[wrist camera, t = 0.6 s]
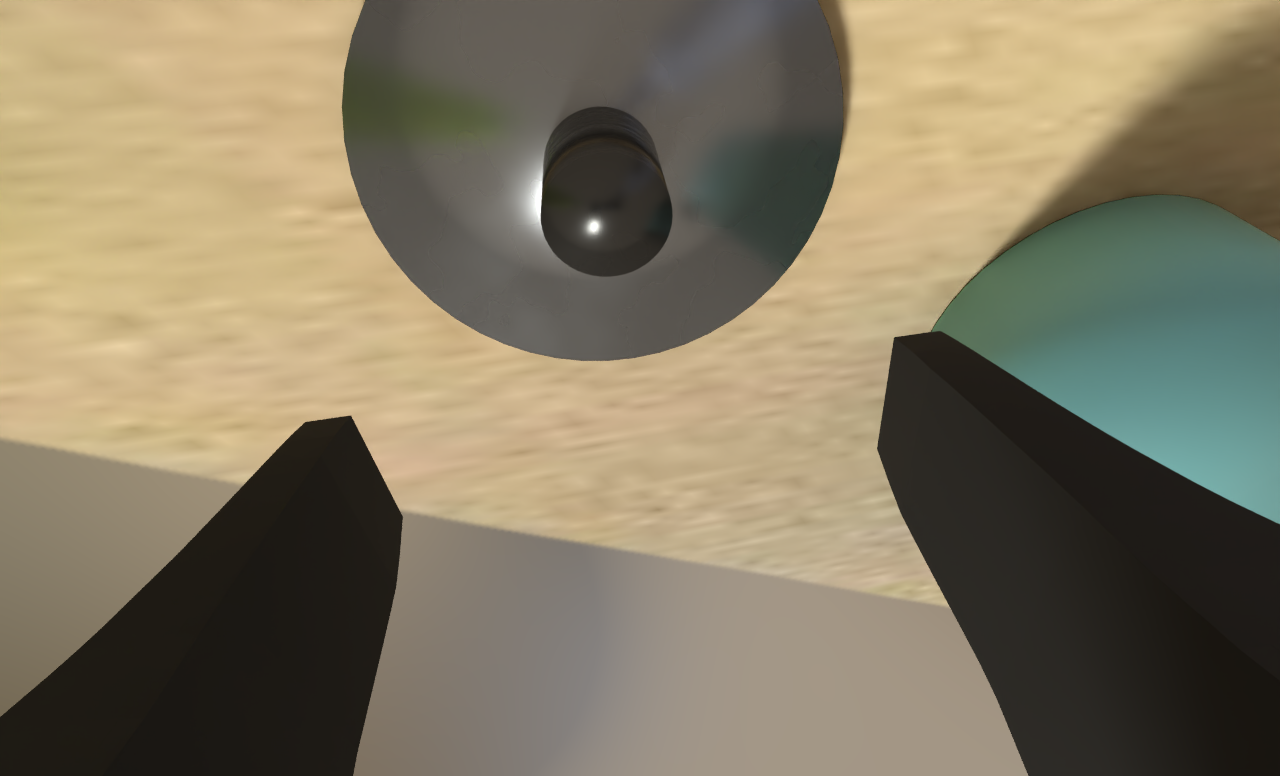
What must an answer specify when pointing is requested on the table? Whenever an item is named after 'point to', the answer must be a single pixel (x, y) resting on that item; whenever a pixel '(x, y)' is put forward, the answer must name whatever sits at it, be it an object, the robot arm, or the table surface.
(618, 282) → the lid
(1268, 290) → the pot
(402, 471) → the table surface
